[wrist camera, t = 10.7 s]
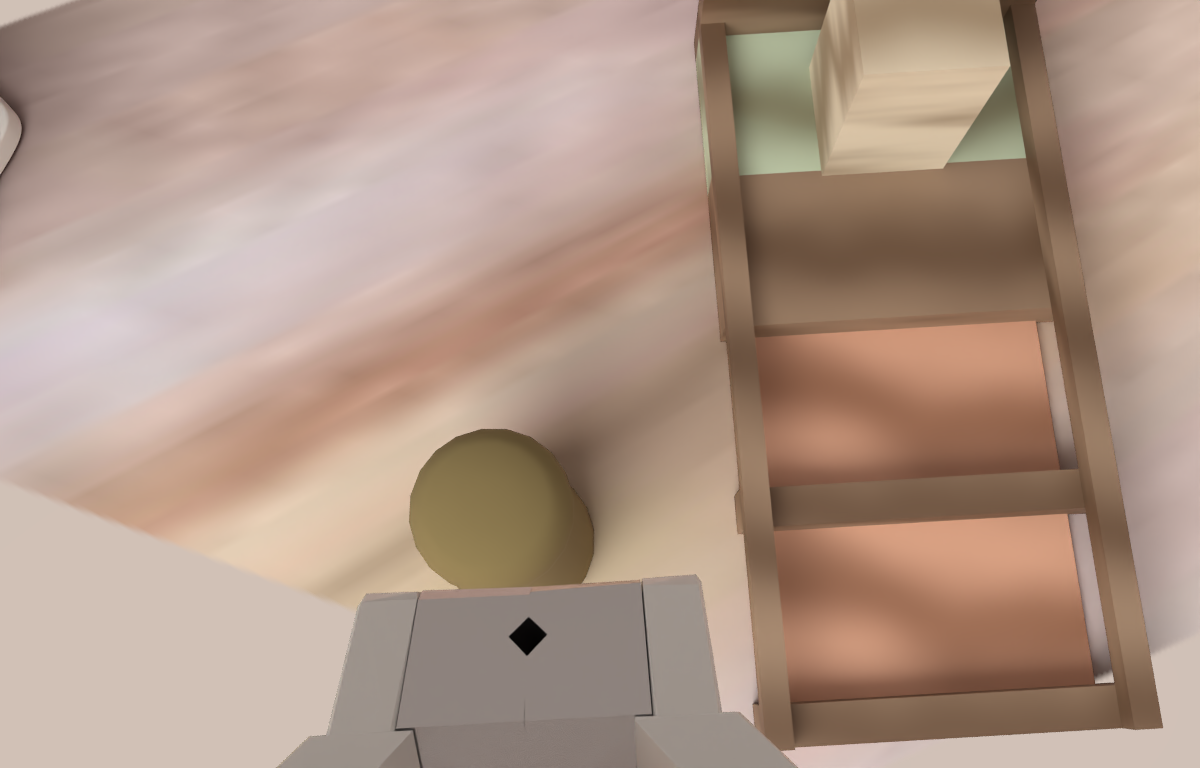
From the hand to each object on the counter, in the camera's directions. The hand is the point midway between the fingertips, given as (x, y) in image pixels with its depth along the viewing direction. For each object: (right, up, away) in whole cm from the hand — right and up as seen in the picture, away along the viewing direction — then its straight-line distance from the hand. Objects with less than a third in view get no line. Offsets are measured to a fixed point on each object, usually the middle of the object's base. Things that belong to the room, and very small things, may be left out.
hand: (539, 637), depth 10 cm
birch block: (+12, +13, +36) cm, 40 cm away
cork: (-3, -4, +34) cm, 34 cm away
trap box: (+13, +4, +35) cm, 37 cm away
